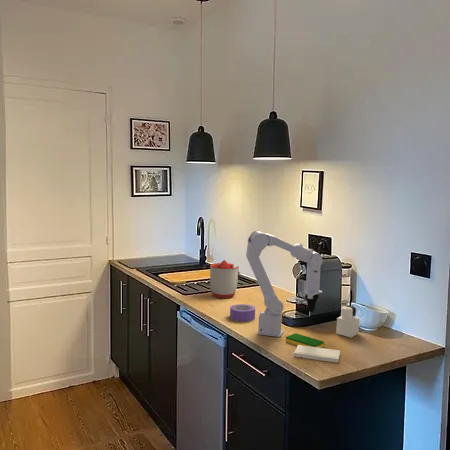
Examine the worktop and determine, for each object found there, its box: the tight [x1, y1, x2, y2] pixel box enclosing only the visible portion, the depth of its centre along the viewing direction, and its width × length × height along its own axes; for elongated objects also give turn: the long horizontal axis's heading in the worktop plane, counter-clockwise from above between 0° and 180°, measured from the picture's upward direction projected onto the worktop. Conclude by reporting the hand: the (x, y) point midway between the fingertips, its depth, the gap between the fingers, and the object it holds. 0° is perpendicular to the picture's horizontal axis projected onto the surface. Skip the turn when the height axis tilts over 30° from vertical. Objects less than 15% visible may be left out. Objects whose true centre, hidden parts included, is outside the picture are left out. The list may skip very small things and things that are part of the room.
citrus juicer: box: [209, 259, 241, 299], centre depth 262 cm, size 16×17×20 cm
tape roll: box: [229, 303, 256, 322], centre depth 224 cm, size 12×12×5 cm
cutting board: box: [293, 345, 341, 364], centre depth 179 cm, size 16×9×2 cm, turn 72°
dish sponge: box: [285, 333, 325, 348], centre depth 191 cm, size 7×14×2 cm, turn 48°
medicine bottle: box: [335, 305, 360, 338], centre depth 204 cm, size 7×7×12 cm
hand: (311, 311), depth 204 cm, fingers closed
